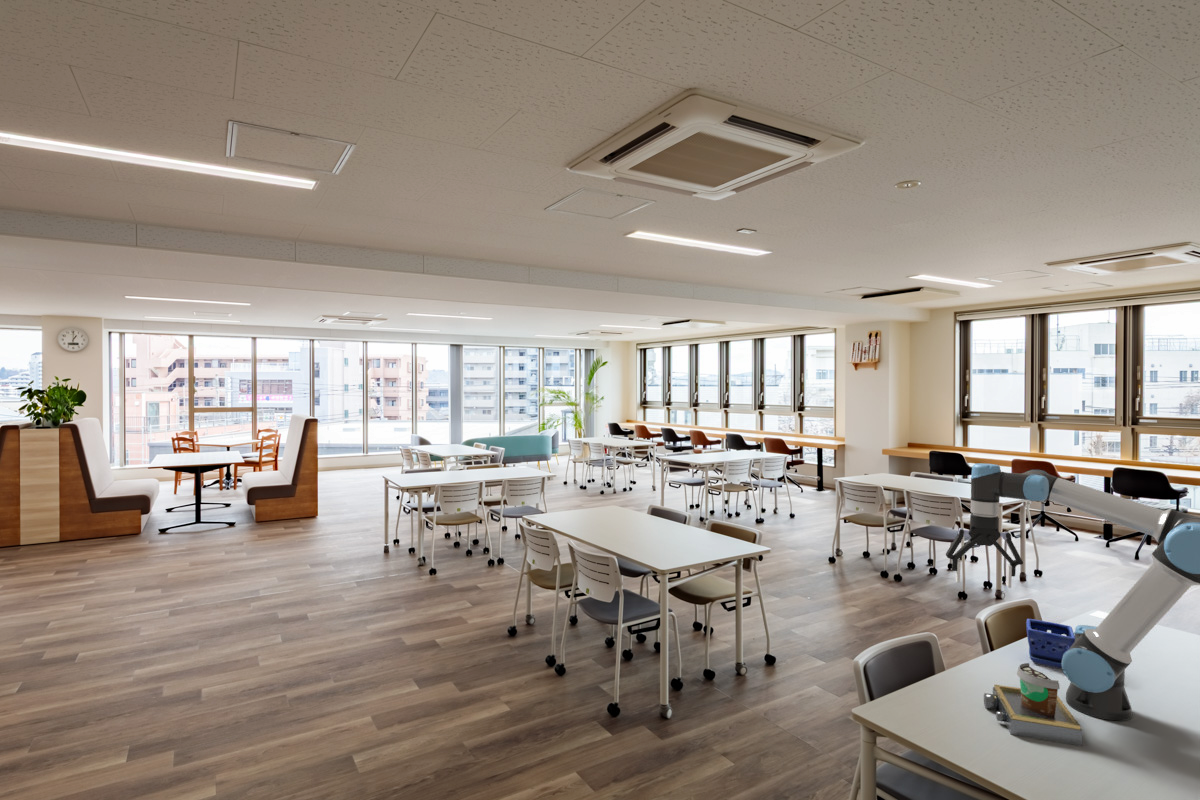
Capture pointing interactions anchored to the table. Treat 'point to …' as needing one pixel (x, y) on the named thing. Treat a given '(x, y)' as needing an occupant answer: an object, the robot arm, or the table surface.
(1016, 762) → the table surface
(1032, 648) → the flower pot
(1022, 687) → the food container
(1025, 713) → the grey flat box
